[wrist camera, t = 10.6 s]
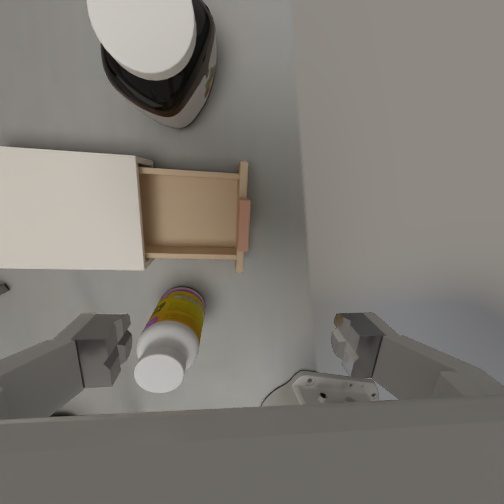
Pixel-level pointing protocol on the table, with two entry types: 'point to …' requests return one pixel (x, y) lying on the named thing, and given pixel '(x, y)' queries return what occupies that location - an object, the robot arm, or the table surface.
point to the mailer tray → (195, 214)
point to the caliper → (3, 289)
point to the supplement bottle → (170, 340)
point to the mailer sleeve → (70, 210)
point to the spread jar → (158, 54)
